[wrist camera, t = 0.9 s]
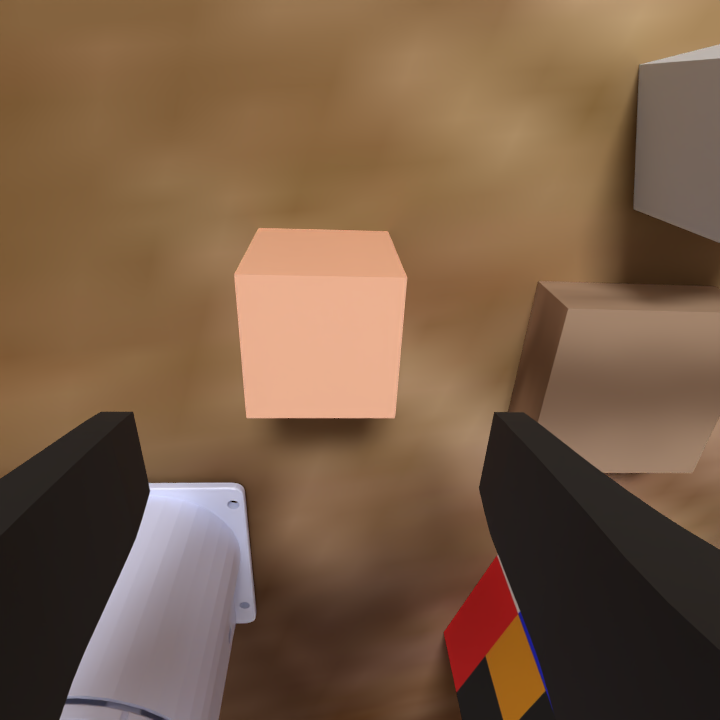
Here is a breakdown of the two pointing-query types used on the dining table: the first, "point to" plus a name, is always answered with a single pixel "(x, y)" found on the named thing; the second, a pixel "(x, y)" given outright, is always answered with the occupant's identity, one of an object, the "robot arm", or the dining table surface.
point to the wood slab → (624, 372)
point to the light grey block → (680, 141)
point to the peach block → (320, 323)
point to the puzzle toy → (495, 656)
